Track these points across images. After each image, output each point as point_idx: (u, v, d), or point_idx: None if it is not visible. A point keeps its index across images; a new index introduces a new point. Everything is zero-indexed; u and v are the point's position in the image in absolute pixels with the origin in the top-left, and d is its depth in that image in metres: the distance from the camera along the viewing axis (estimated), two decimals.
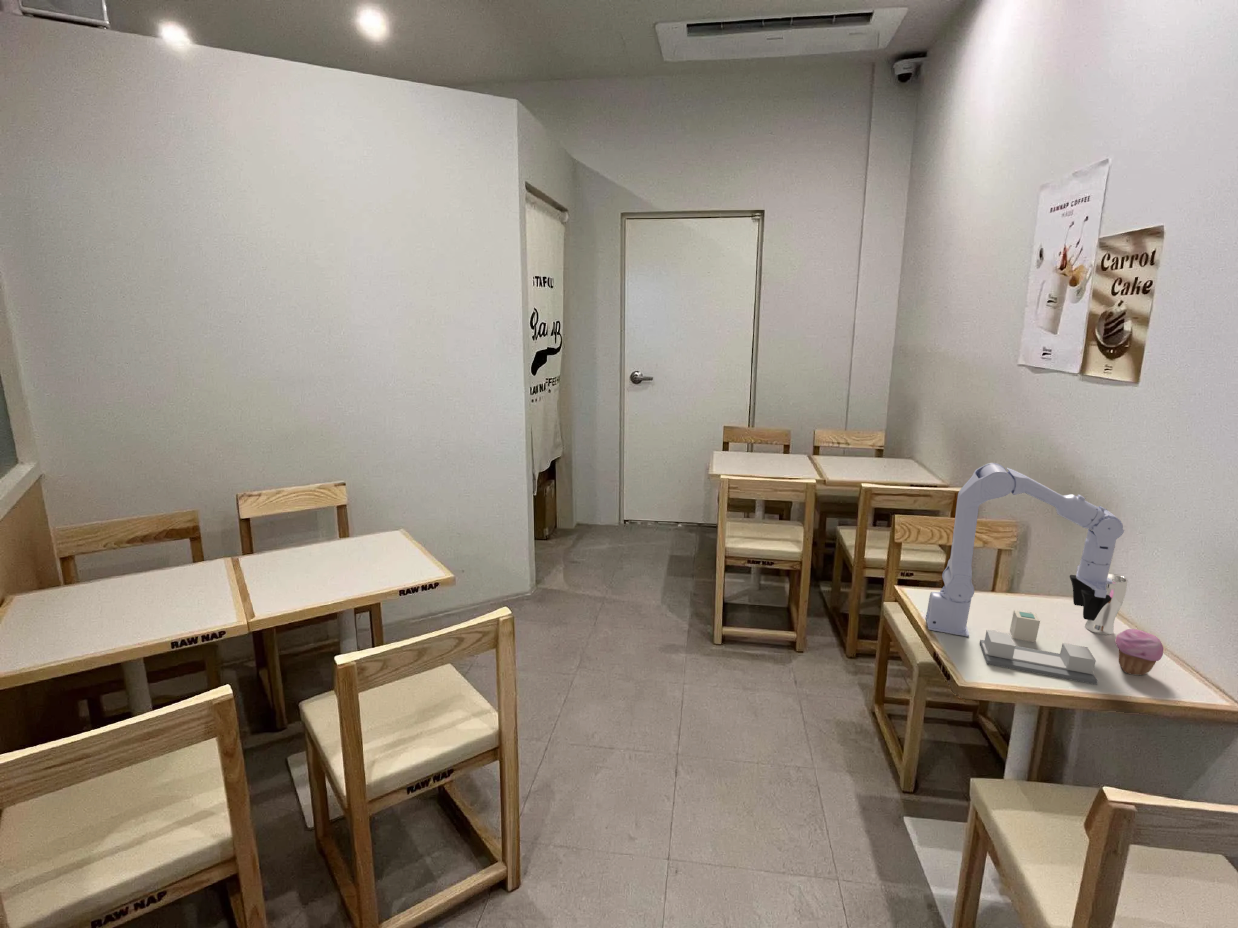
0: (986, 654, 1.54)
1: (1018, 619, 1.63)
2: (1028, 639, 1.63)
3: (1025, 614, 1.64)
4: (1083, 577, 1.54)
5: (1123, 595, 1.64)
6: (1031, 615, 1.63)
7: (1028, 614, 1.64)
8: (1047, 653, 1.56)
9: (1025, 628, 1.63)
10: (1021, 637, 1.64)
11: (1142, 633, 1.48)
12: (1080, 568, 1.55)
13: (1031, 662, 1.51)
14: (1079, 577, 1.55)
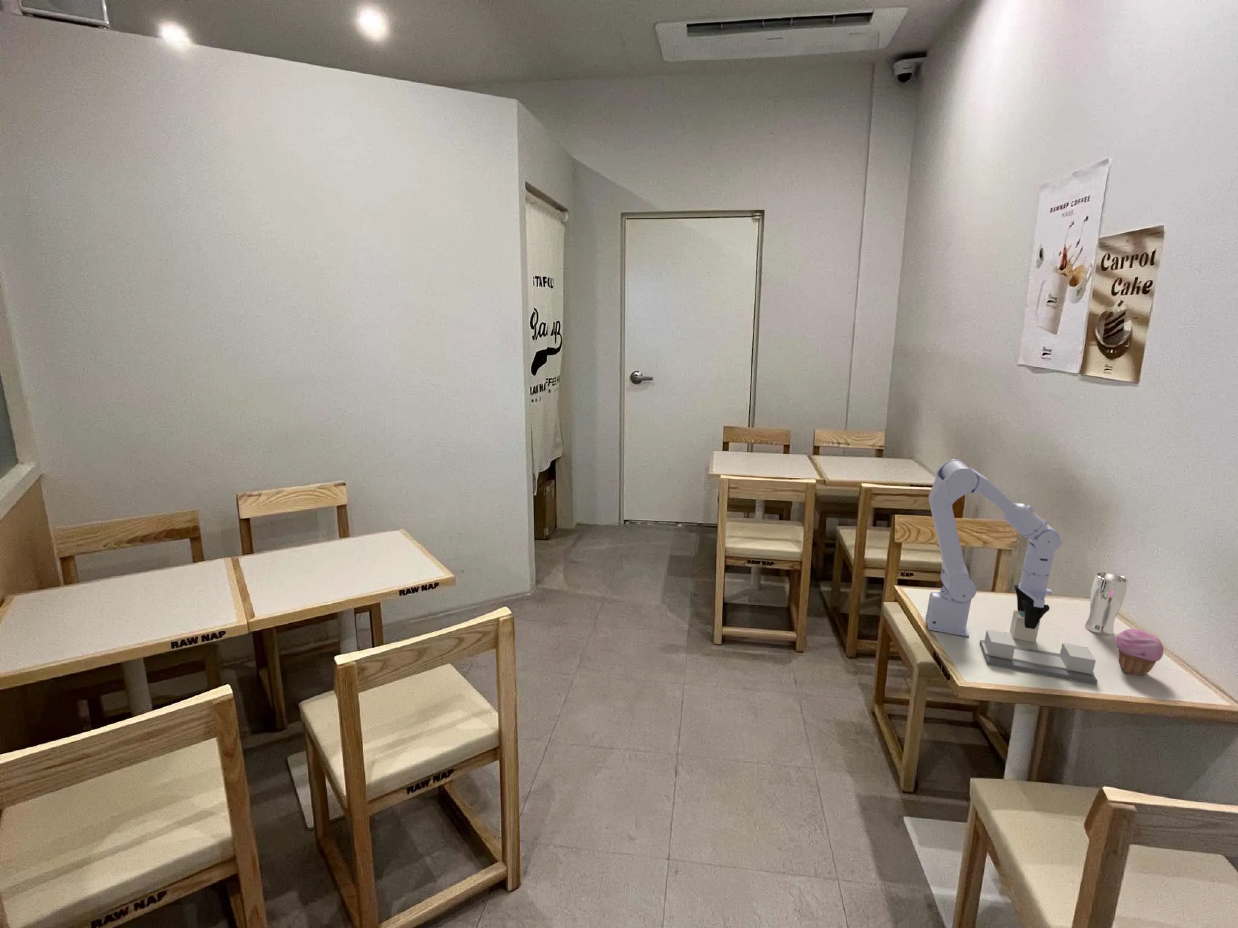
0: (986, 654, 1.54)
1: (1018, 619, 1.63)
2: (1028, 639, 1.63)
3: None
4: (1024, 588, 1.61)
5: (1123, 595, 1.64)
6: None
7: None
8: (1047, 653, 1.56)
9: (1025, 628, 1.63)
10: (1021, 637, 1.64)
11: (1142, 633, 1.48)
12: (1021, 579, 1.62)
13: (1031, 662, 1.51)
14: (1021, 587, 1.62)
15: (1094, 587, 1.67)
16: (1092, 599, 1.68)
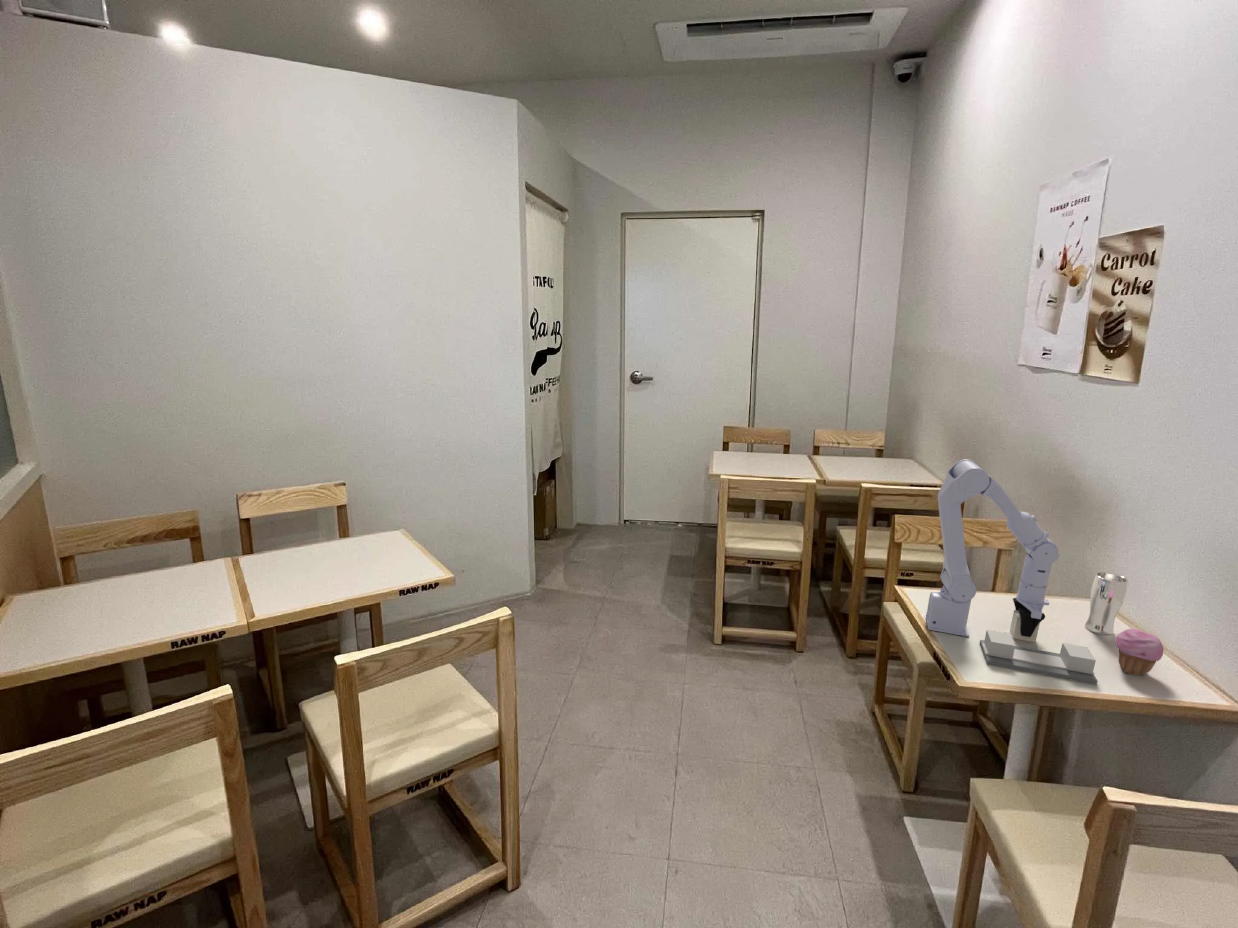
0: (986, 654, 1.54)
1: (1018, 619, 1.63)
2: (1028, 639, 1.63)
3: None
4: (1022, 599, 1.62)
5: (1123, 595, 1.64)
6: None
7: None
8: (1047, 653, 1.56)
9: None
10: (1021, 637, 1.63)
11: (1142, 633, 1.48)
12: (1019, 590, 1.63)
13: (1031, 662, 1.51)
14: (1018, 598, 1.62)
15: (1094, 587, 1.67)
16: (1092, 599, 1.68)
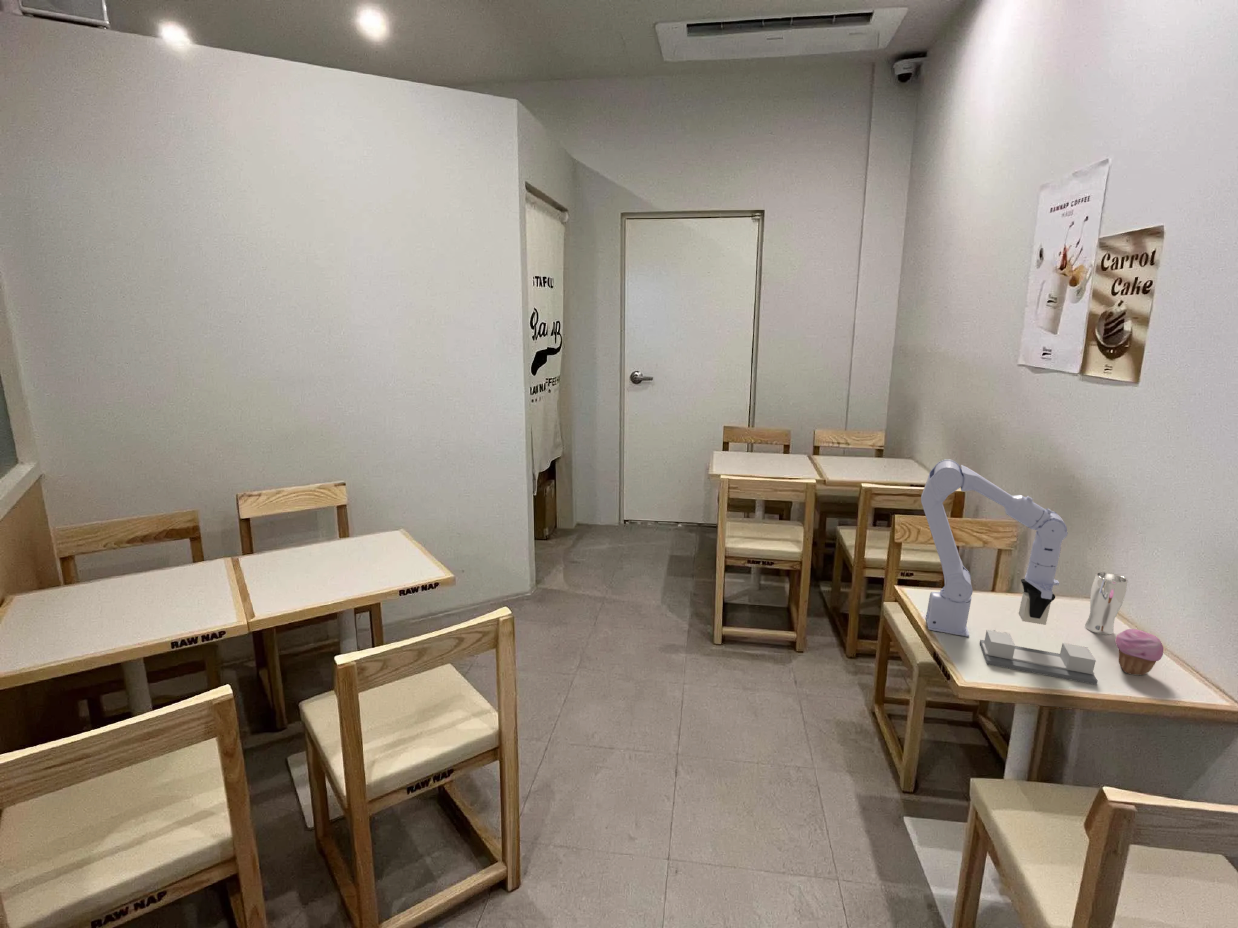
0: (986, 654, 1.54)
1: (1028, 601, 1.58)
2: (1038, 621, 1.58)
3: None
4: (1031, 579, 1.56)
5: (1123, 595, 1.64)
6: None
7: None
8: (1047, 653, 1.56)
9: None
10: (1031, 619, 1.58)
11: (1142, 633, 1.48)
12: (1028, 570, 1.57)
13: (1031, 662, 1.51)
14: (1027, 579, 1.57)
15: (1094, 587, 1.67)
16: (1092, 599, 1.68)
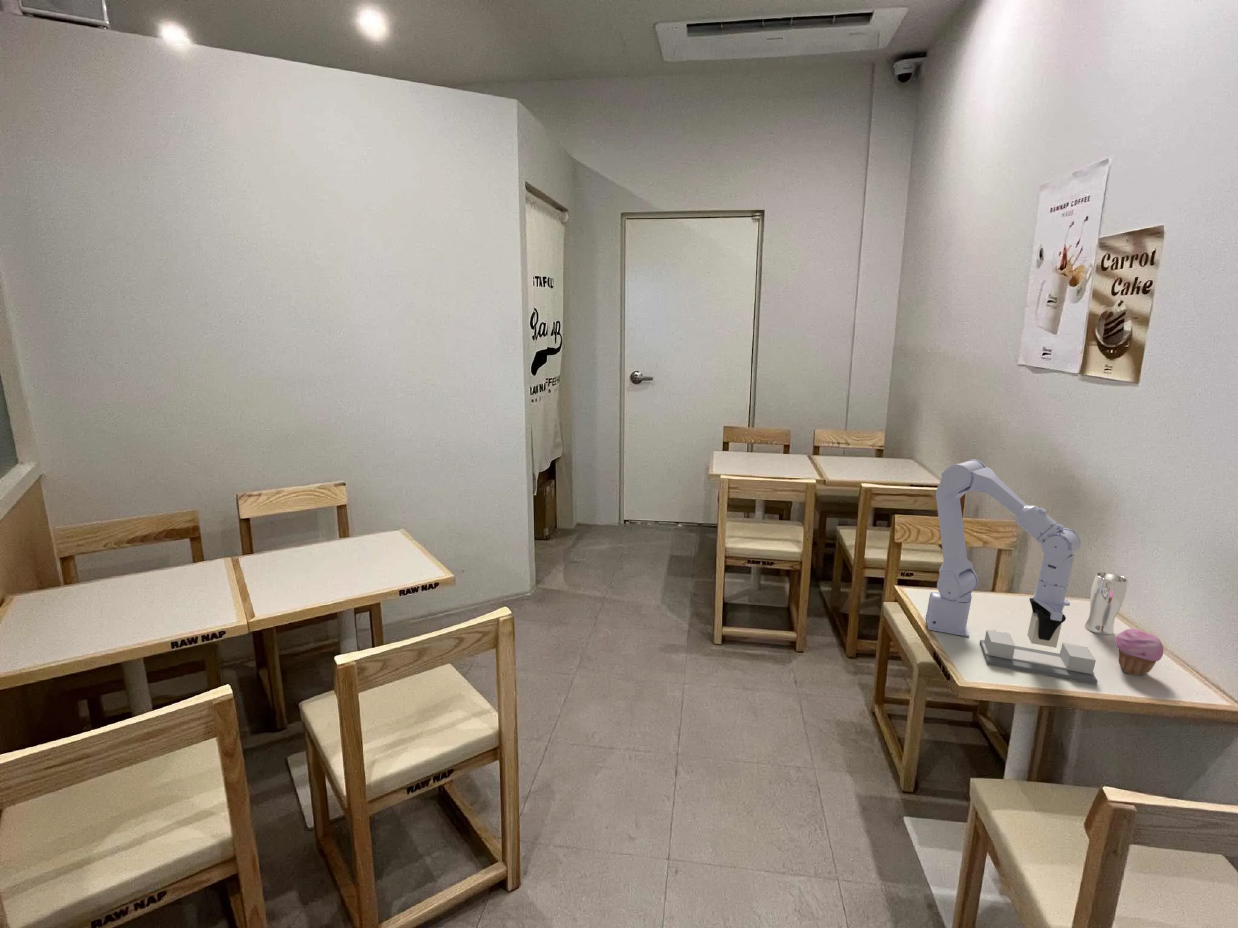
0: (986, 654, 1.54)
1: (1037, 622, 1.49)
2: (1048, 644, 1.50)
3: None
4: (1040, 599, 1.48)
5: (1123, 595, 1.64)
6: None
7: None
8: (1047, 653, 1.56)
9: None
10: (1040, 642, 1.50)
11: (1142, 633, 1.48)
12: (1037, 589, 1.49)
13: (1031, 662, 1.51)
14: (1036, 598, 1.49)
15: (1094, 587, 1.67)
16: (1092, 599, 1.68)
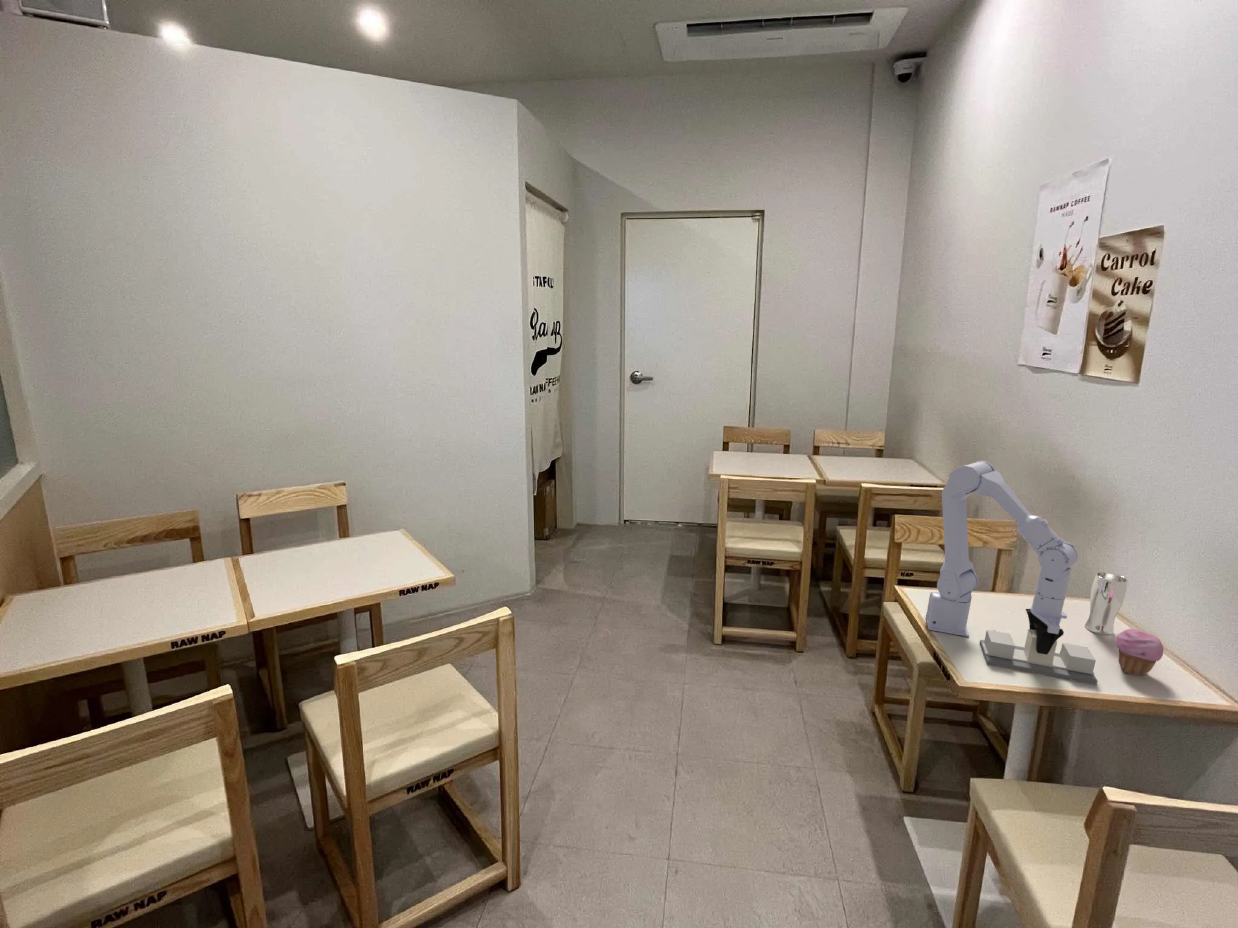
0: (986, 654, 1.54)
1: (1033, 639, 1.50)
2: (1044, 661, 1.51)
3: None
4: (1037, 611, 1.49)
5: (1123, 595, 1.64)
6: None
7: None
8: None
9: None
10: (1036, 658, 1.51)
11: (1142, 633, 1.48)
12: (1034, 602, 1.50)
13: (1031, 662, 1.51)
14: (1033, 611, 1.50)
15: (1094, 587, 1.67)
16: (1092, 599, 1.68)
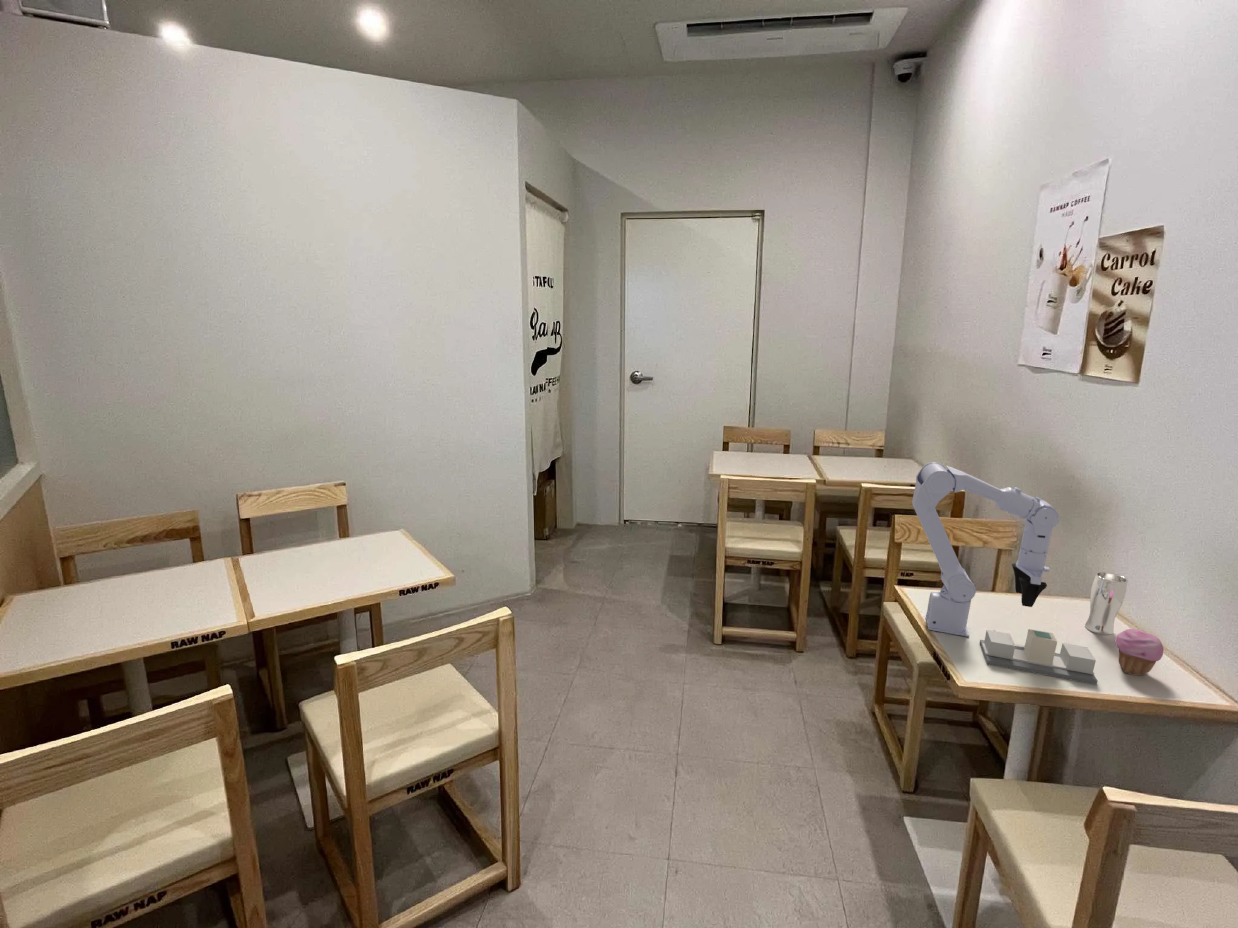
0: (986, 654, 1.54)
1: (1033, 639, 1.50)
2: (1044, 661, 1.51)
3: (1041, 634, 1.51)
4: (1021, 565, 1.59)
5: (1123, 595, 1.64)
6: (1047, 634, 1.51)
7: (1044, 634, 1.51)
8: None
9: (1040, 648, 1.50)
10: (1036, 658, 1.51)
11: (1142, 633, 1.48)
12: (1019, 556, 1.60)
13: (1031, 662, 1.51)
14: (1018, 565, 1.60)
15: (1094, 587, 1.67)
16: (1092, 599, 1.68)
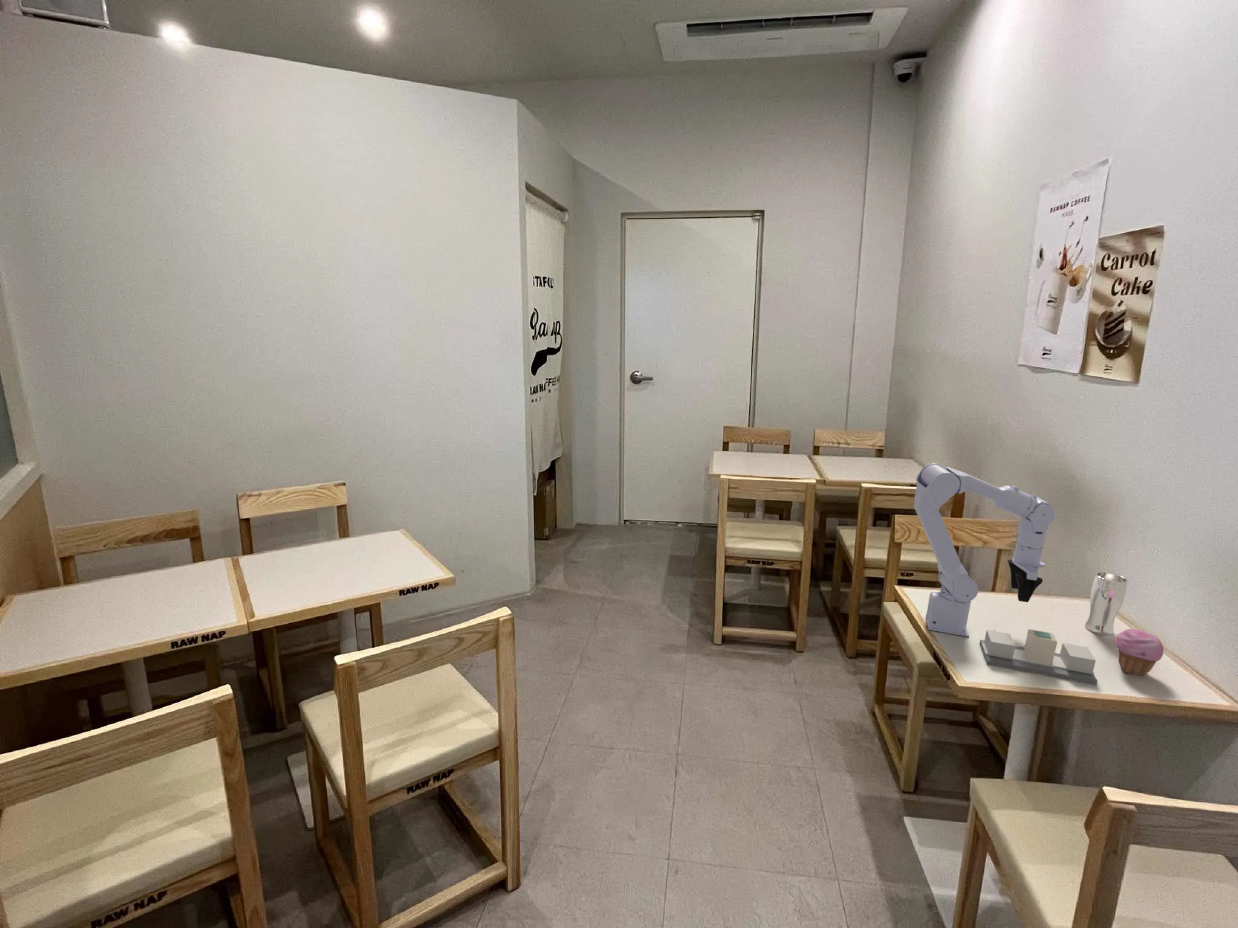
0: (986, 654, 1.54)
1: (1033, 639, 1.50)
2: (1044, 661, 1.51)
3: (1041, 634, 1.51)
4: (1018, 561, 1.62)
5: (1123, 595, 1.64)
6: (1047, 634, 1.51)
7: (1044, 634, 1.51)
8: None
9: (1040, 648, 1.50)
10: (1036, 658, 1.51)
11: (1142, 633, 1.48)
12: (1015, 552, 1.63)
13: (1031, 662, 1.51)
14: (1014, 561, 1.63)
15: (1094, 587, 1.67)
16: (1092, 599, 1.68)
